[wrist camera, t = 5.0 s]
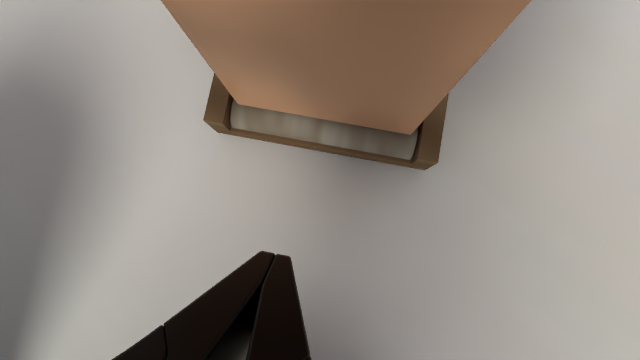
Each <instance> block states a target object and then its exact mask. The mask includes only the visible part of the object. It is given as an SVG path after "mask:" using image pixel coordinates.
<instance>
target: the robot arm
mask: <svg viewBox="0 0 640 360" xmlns="http://www.w3.org/2000/svg"><path fill="white" fill-rule="evenodd" d="M163 326H164V327H163ZM163 326H162V325H161V326H159V327H158V328H156V329H155V330H154V331H152V332H151V333H150V334H148V335H147V336H146V337H144V338H143V339H141V340H140V341H139V342H137V343H136V344H134V345H133V346H132V347H130V348H129V349H127V350H126V351H124V352H123V353H121V354H120V355H118V356H117V357H115V358H113V359H112V360H312V359H311V357H310V351H309V346H308V341H307V336H306V331H305V326H304V321H303V316H302V311H301V306H300V301H299V296H298V291H297V286H296V281H295V276H294V272H293V267H292V262H291V258H290V257H289V256H285V255H280V254H277V255H275V254H274V253H270V252H265V251H260V252H259V253H257V254H256V255H255V256H253V257H252V258H251V259H249V260H248V261H247V262H245V263H244V264H243V265H241V266H240V267H239V268H237V269H236V270H235V271H233V272H232V273H231V274H229V275H228V276H227V277H225V278H224V279H223V280H221V281H220V282H219V283H217V284H216V285H215V286H213V287H212V288H211V289H209V290H208V291H207V292H205V293H204V294H203V295H201V296H200V297H199V298H197V299H196V300H195V301H193V302H192V303H191V304H189V305H188V306H187V307H185V308H184V309H183V310H181V311H180V312H179V313H177V314H176V315H175V316H173V317H172V318H171V319H169V320H168V321H167V322H165V323H164V325H163Z"/></svg>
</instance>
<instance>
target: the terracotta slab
mask: <svg viewBox="0 0 640 360" xmlns="http://www.w3.org/2000/svg"><path fill="white" fill-rule="evenodd" d="M161 1H162V3H163V4H164V5H165V7H166V8H167V9H168V11H169V12H170V13H171V15H172V16H173V17H174V19H175V20H176V22H177V23H178V24H179V26H180V27H181V28H182V30H183V31H184V32H185V34H186V35H187V36H188V38H189V39H190V40H191V42H192V43H193V44H194V46H195V47H196V48H197V50H198V51H199V52H200V54H201V55H202V57H203V58H204V59H205V61H206V62H207V63H208V65H209V66H210V67H211V69H212V70H213V71H214V73H215V74H216V75H217V77H218V78H219V79H220V81H221V82H222V83H223V85H224V86H225V87H226V89H227V90H228V92H229V93H230V94H231V96H232V97H233V98H234V100H235V101H236V102H237V104H240V105H245V106H251V107H257V108H262V109H268V110H273V111H279V112H285V113H290V114H296V115H302V116H307V117H313V118H318V119H324V120H330V121H335V122H341V123H347V124H352V125H358V126H363V127H369V128H375V129H380V130H386V131H391V132H397V133H403V134H408V135H411V134H412V133H413V132H414V131H415V130H416V128H417V127H418V126H419V125H420V124H421V123H422V122H423V121H424V120H425V118H426V117H427V116H428V115H429V114H430V113H431V112H432V111H433V109H434V108H435V107H436V106H437V105H438V104H439V103H440V102H441V101H442V99H443V98H444V97H445V96H446V95H447V94H448V93H449V92H450V90H451V89H452V88H453V87H454V86H455V85H456V84H457V83H458V81H459V80H460V79H461V78H462V77H463V76H464V75H465V74H466V73H467V71H468V70H469V69H470V68H471V67H472V66H473V65H474V64H475V62H476V61H477V60H478V59H479V58H480V57H481V56H482V55H483V54H484V52H485V51H486V50H487V49H488V48H489V47H490V46H491V45H492V43H493V42H494V41H495V40H496V39H497V38H498V37H499V36H500V35H501V33H502V32H503V31H504V30H505V29H506V28H507V27H508V26H509V24H510V23H511V22H512V21H513V20H514V19H515V18H516V17H517V16H518V14H519V13H520V12H521V11H522V10H523V9H524V8H525V7H526V5H527V4H528V3H529V2H530V1H531V0H161Z"/></svg>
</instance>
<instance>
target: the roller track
mask: <svg viewBox="0 0 640 360" xmlns="http://www.w3.org/2000/svg"><path fill="white" fill-rule="evenodd" d="M448 94H449V93H448ZM448 94H447V95H446V96H445V97H444V98H443V99H442V101H441V102H440V103H439V104H438V105H437V106H436V107H435V108H434V109H433V111H432V112H431V113H430V114H429V115H428V116H427V117H426V118H425V120H424V121H423V122H422V123H421V124H420V125H419V126H418V127H417V128H416V130H415V131H414V132H413V133H412V134H411V135H408V134H403V133H397V132H391V131H386V130H380V129H375V128H369V127H363V126H358V125H352V124H347V123H341V122H335V121H330V120H324V119H318V118H313V117H307V116H302V115H296V114H290V113H285V112H279V111H273V110H268V109H262V108H257V107H251V106H245V105H240V104H237V102H236V101H235V100H234V98H233V97H232V96H231V94H230V93H229V92H228V90H227V89H226V87H225V86H224V85H223V83H222V82H221V81H220V79H219V78H218V77H217V75H216V74H215V73H214V77H213V81H212V85H211V90H210V94H209V98H208V103H207V107H206V111H205V115H204V121H205V122H206V123H207V124H208V125H210V126H211V127H212V128H213V129H214V130H216V131H217V132H218V133H224V134H229V135H235V136H240V137H246V138H251V139H257V140H262V141H268V142H273V143H279V144H284V145H290V146H295V147H301V148H306V149H312V150H317V151H323V152H328V153H334V154H339V155H345V156H350V157H356V158H361V159H367V160H372V161H378V162H383V163H389V164H394V165H400V166H405V167H411V168H416V169H422V170H426V169H428V168H429V167H431V166H433V165H435V164H436V163H438V158H439V152H440V145H441V139H442V132H443V126H444V119H445V113H446V107H447V100H448Z"/></svg>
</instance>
